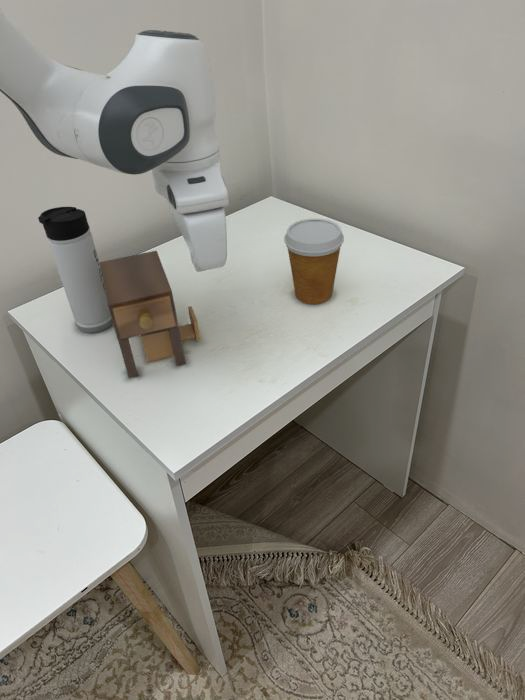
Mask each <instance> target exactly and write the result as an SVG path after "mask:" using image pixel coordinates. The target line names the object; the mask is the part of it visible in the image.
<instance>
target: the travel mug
mask: <svg viewBox="0 0 525 700" xmlns="http://www.w3.org/2000/svg"><path fill="white" fill-rule="evenodd" d="M37 219H38V222H39V224H41V225H42V227H43V229H44V231H45V237H46V239H47V241H48V242H47V243H48V246H49V248H50V251H51V254H52V257H53V260H54V264H55V266H56V269H57V272H58V275H59V278H60V280H61V284H62V287H63V290H64V292H65V295H66V298H67V301H68V304H69V307H70V311H71V313H72V316H73V318H74V321H75V324H76V327H77V329H78V330H79V331H81V332H83V333H88V334H93V333H94V334H95V333H99V332H102V331H104V330H106V329H108V328H110V327H111V326H113V321H112V318H111V314H110V311H109V308H108V304H107V298H106V293H105V288H104V283H103V278H102V272H101V267H100V262H101V261H100V259H99V256H98V251H97V248H96V245H95V242H94V238H93V235H92V234H93V233H92V231H91V227H90V225H89V222H88V218H87V215H86V211H85V210H82V209H81V208H80V209H79V208H77V207H76V206H75V207H74V206H58V207H53V208H49V209H47V210H44V211H42V212H41V213H40V216H38V217H37Z"/></svg>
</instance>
